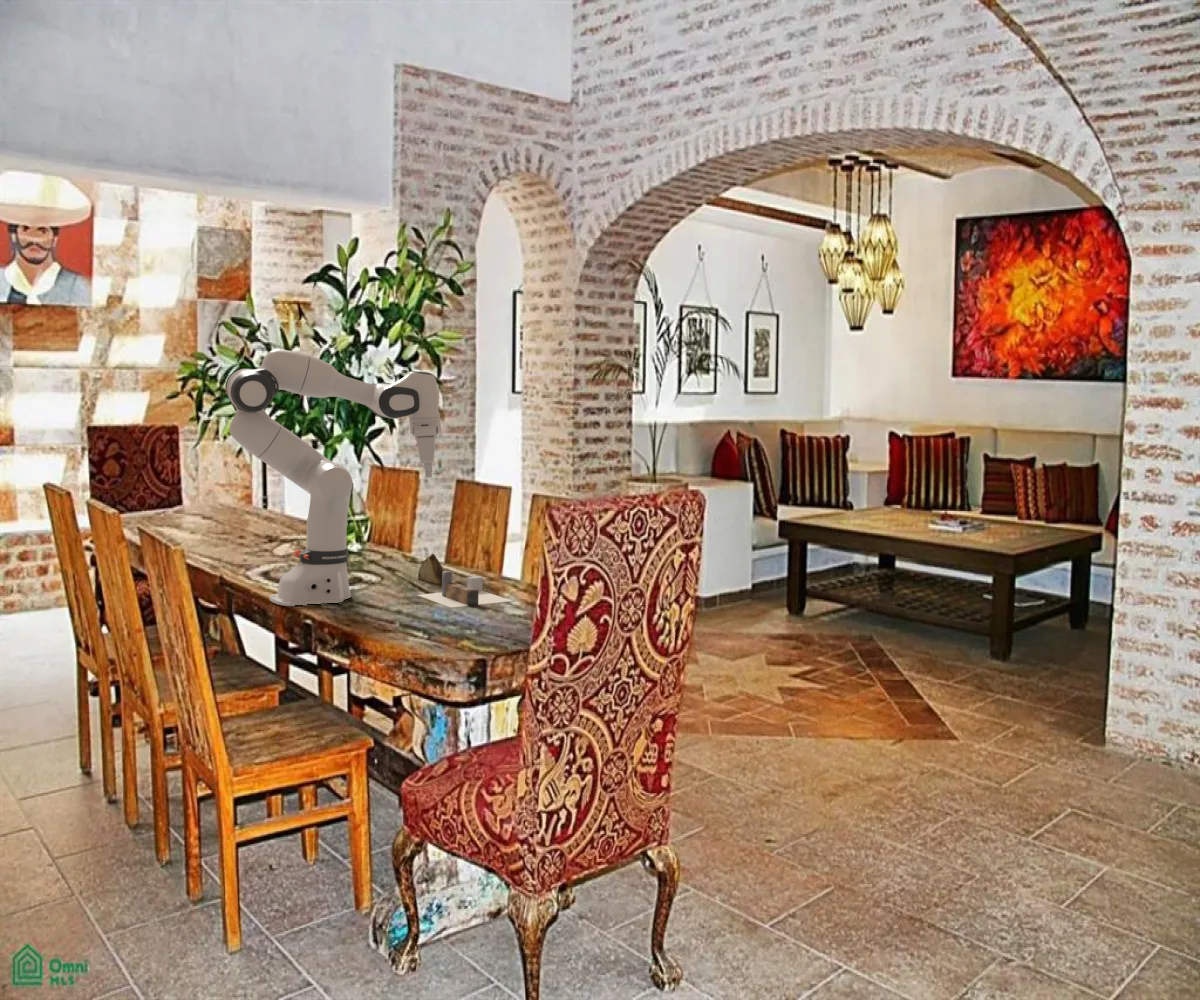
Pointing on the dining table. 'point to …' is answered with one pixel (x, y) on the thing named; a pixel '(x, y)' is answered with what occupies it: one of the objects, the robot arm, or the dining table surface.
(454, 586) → the leg
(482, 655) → the dining table surface
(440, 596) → the wall mounted roll holder
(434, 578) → the rock
